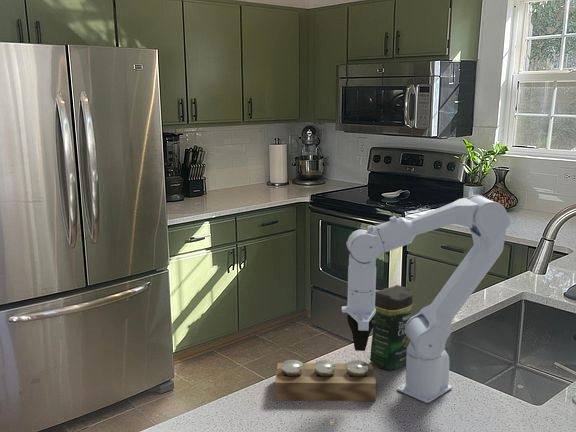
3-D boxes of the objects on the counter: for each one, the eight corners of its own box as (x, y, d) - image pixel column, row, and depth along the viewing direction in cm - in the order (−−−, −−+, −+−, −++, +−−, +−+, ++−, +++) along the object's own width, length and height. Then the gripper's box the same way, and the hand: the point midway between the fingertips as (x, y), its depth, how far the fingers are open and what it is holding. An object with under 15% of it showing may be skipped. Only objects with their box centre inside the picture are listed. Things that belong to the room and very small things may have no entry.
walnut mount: (371, 380, 126) (371, 363, 125) (375, 401, 117) (376, 383, 116) (278, 379, 127) (277, 363, 126) (275, 400, 118) (274, 382, 117)
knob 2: (366, 384, 123) (366, 360, 122) (368, 394, 119) (368, 369, 118) (346, 383, 124) (346, 360, 123) (347, 394, 119) (347, 369, 118)
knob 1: (303, 383, 124) (302, 359, 123) (302, 393, 120) (302, 369, 119) (283, 383, 124) (282, 359, 123) (282, 393, 120) (281, 369, 119)
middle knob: (334, 383, 124) (334, 360, 123) (335, 393, 119) (335, 369, 118) (314, 383, 124) (314, 360, 123) (314, 393, 120) (314, 369, 119)
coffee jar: (391, 374, 128) (393, 297, 125) (364, 363, 134) (366, 289, 130) (416, 361, 134) (419, 287, 131) (390, 351, 140) (392, 280, 137)
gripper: (340, 277, 123) (339, 335, 126) (343, 299, 109) (342, 364, 112) (373, 277, 123) (371, 335, 125) (380, 300, 109) (377, 365, 111)
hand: (359, 349), depth 119 cm, fingers closed
